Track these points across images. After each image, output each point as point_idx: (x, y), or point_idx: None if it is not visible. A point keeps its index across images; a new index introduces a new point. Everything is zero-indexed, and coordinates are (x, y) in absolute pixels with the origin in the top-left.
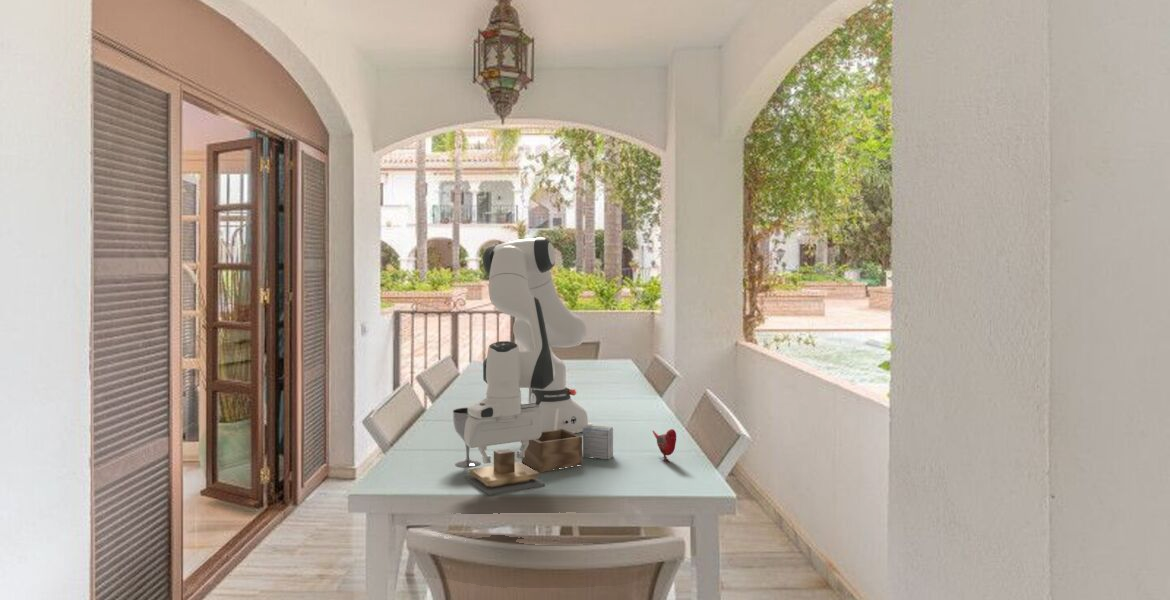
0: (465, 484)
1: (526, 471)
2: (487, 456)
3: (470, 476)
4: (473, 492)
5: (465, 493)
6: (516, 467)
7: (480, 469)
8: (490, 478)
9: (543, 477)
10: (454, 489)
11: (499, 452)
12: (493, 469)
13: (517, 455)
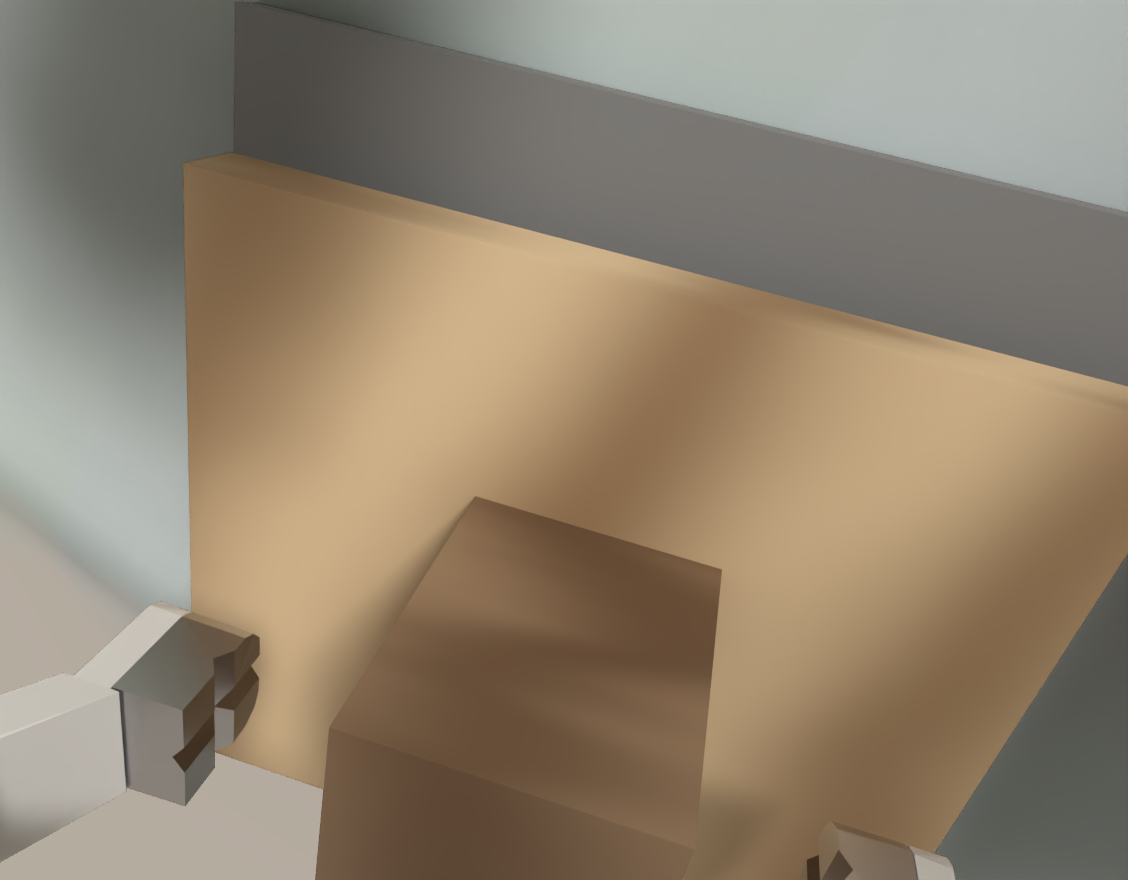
0: (169, 270)
1: (787, 843)
2: (120, 792)
3: (295, 106)
4: (154, 550)
5: (76, 517)
6: (840, 641)
7: (326, 317)
8: (263, 701)
9: (1104, 758)
10: (8, 334)
11: (369, 873)
12: (491, 467)
13: (824, 865)
